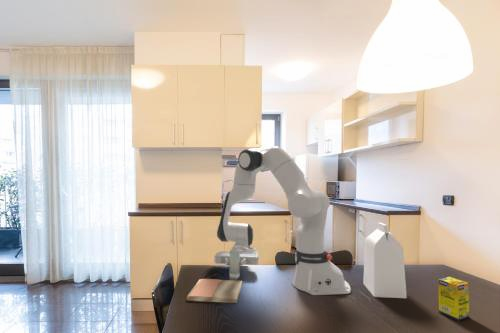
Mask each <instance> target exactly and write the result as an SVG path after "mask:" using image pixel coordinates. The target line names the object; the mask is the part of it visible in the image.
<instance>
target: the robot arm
mask: <svg viewBox="0 0 500 333" xmlns="http://www.w3.org/2000/svg"><path fill="white" fill-rule="evenodd" d="M237 158H238V159H237V161H238V163H237V164H236V166H235V171H234V177H233V186H232V189H231V190H230V191H228V192H227V194H226V195H225V198H224V202H223V206H222V210H221V211H222V212H221V215H220V220H219V225H218V226H217V229H216V236H217V239H219V240H220V242H223V243H224V242H227V243H228V242H229V243H231V242H232V243H233V242H234V244H233V245H232V247H231V249H230V250H229V251H219V252H217V253H216V254H214V259H213V260H214V262H213V263H215V264H221V265H222V264H225V265H226V266H230V251H231V250H238V251H240V261H239V266H240V267H241V266H242V267H243V265H248V266H249V265H250V266H253V265H259V253H258V250H257V248H256V247H252V246H251V245H252V244H253V240H254V229H253V227H252V226H251V224H249V223H243V222H231V221H229V219H230V215H231V210H232V207H233V206H234V205H236V204H239V203H242V202H246V201H248V200H249V199H251V198H252V197H253V196H254V194H255V190H256V182H257V181H256V177H257V174H258V173H259V172H261V173H263V172H268V171H270V172H271V173H272V175H273V177H274V178H275V179H276V181H277V183H278V184H279V185H280V187H281V188H282V190H283V192H284V194H285V196H286V199H287V208H288V212H289V213H290V215H292V216H294V217H295V218H298V219H300V221H299V224H298V226H297V229H296V249H295V254H294V255H295V256H294V258H295V261H294V262H295V273H294V277H293V280H292V281H293V282H292V285H293V286H294V288H296V289H298V290H300V291H303V292H305V293H308V294H309V295H311V296H327V295H347V294H350V293H351V292H352V289H351V286H350V284H349V282H347V281H346V280H345V278H344V277H345V276H344V274H343V272H342V270H341V269H340V268H339V267H338V266H336V265H335V264H334V263H333V262H331V261H332V259H333V256H332V254H331V253H329V252H328V251H326V250H325V228H326V223H327V215H328V209H329V207H330V204H331V202H330V201H331V200H330V197H329V196H328V194H327V193H326V192H324V191H321V190H319V189H311V187H310V186H309V185H308V183H307V180H306V179H305V174H304V172H303V171H302V170H301V168H300V167H299V166H298V165H297V163H296V162H295V161H294V159H293V158H292V156H290V155H289V154H288V153H287V152H286V151H285V150H284V149H283V148H282V147H280V146H273V147H270V148H269V149H268V148H266V149H265V148H256V147H255V148H245V149H244V150H243V149H242V151H241V152H239V155H238V157H237ZM250 246H251V247H250Z"/></svg>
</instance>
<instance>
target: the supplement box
mask: <svg viewBox="0 0 500 333" xmlns="http://www.w3.org/2000/svg"><path fill="white" fill-rule="evenodd" d="M437 284H438V286H437V287H438V288H437V289H438V313H439V314H441V313H442V315H444V316H446V317H448V318H451V319H452V320H455V321H457V322H459V321H462V320H465V319H469V318H470V297H469V296H470V295H469V283H468V282H467V281H464V280H461V279H457V278H454V277H452V276H447V277H444V278H443V277H442V278H438V283H437ZM468 317H469V318H468Z"/></svg>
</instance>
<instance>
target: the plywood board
mask: <svg viewBox="0 0 500 333" xmlns="http://www.w3.org/2000/svg"><path fill="white" fill-rule="evenodd" d="M242 287H243V281H242V280H239V281H233V280H229V279H228V280H227V279H215V278H213V279H212V278H199V279H198V281H197V282H196V284H195V285H194V286H193V288H192V289H191V290H190V292H188V295H187V296H186V301H187V302H189V301H190V302H205V303H207V302H208V303H225V304H226V303H228V304H237V303H238V300H239V297H240V293H241V289H242Z"/></svg>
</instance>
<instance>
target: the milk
mask: <svg viewBox="0 0 500 333" xmlns="http://www.w3.org/2000/svg"><path fill="white" fill-rule="evenodd" d="M404 258H405V257H404V248H403V246H402V244H401V243H400V242H399V241H398V240H397V239H396V236H395V235H394V234H393V233H392V232H390V231H389V226H388V224H385V223H383V222H377V225H376V229H374V231H372V232H371V233H370V234H368V235H367V236H366V238H365V240H364V254H363V285H364V286H365V288H366V289H367V290H368V291H369V292H370V294H371V295H372V296H373V297H374V298H389V299H390V298H394V299H395V298H396V299H408V298H407V282H406V272H405V271H406V270H405V260H404Z"/></svg>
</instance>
